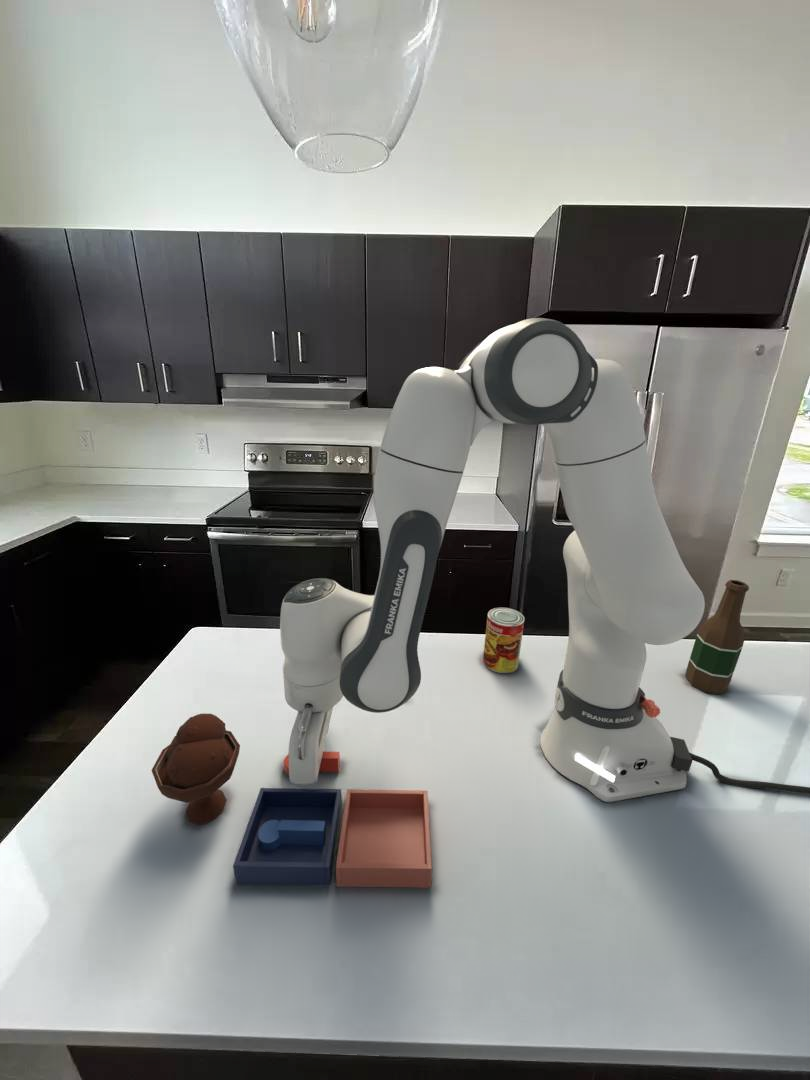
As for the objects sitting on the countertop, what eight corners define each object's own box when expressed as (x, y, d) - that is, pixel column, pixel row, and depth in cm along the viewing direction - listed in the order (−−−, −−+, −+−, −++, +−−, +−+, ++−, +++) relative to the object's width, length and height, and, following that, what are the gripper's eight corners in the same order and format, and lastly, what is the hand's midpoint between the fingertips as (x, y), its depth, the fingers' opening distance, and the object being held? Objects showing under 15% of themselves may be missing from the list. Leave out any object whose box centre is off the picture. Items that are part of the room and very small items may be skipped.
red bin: (426, 807, 63) (427, 790, 62) (430, 887, 53) (431, 869, 52) (347, 806, 63) (346, 789, 62) (336, 886, 53) (335, 867, 52)
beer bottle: (726, 680, 93) (760, 580, 84) (728, 700, 87) (766, 595, 78) (684, 667, 97) (713, 571, 88) (683, 686, 90) (715, 584, 82)
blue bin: (342, 806, 63) (341, 788, 62) (330, 886, 53) (329, 867, 52) (262, 805, 63) (260, 787, 62) (236, 885, 53) (232, 866, 52)
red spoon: (340, 760, 71) (340, 747, 70) (337, 776, 68) (337, 763, 67) (287, 759, 71) (285, 746, 70) (281, 775, 68) (280, 762, 67)
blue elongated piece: (327, 828, 59) (326, 814, 58) (323, 852, 56) (322, 837, 55) (263, 827, 59) (261, 812, 58) (255, 851, 56) (253, 836, 55)
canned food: (478, 652, 100) (483, 607, 96) (511, 651, 101) (517, 606, 97) (488, 674, 93) (493, 626, 89) (523, 672, 94) (530, 625, 89)
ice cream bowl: (166, 789, 65) (148, 710, 60) (244, 766, 69) (233, 690, 64) (159, 856, 56) (137, 770, 51) (249, 824, 60) (237, 742, 55)
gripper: (323, 738, 54) (326, 816, 59) (344, 645, 73) (345, 709, 78) (273, 736, 54) (280, 815, 58) (308, 643, 73) (311, 708, 78)
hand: (317, 754), depth 68 cm, fingers open, 8 cm apart
